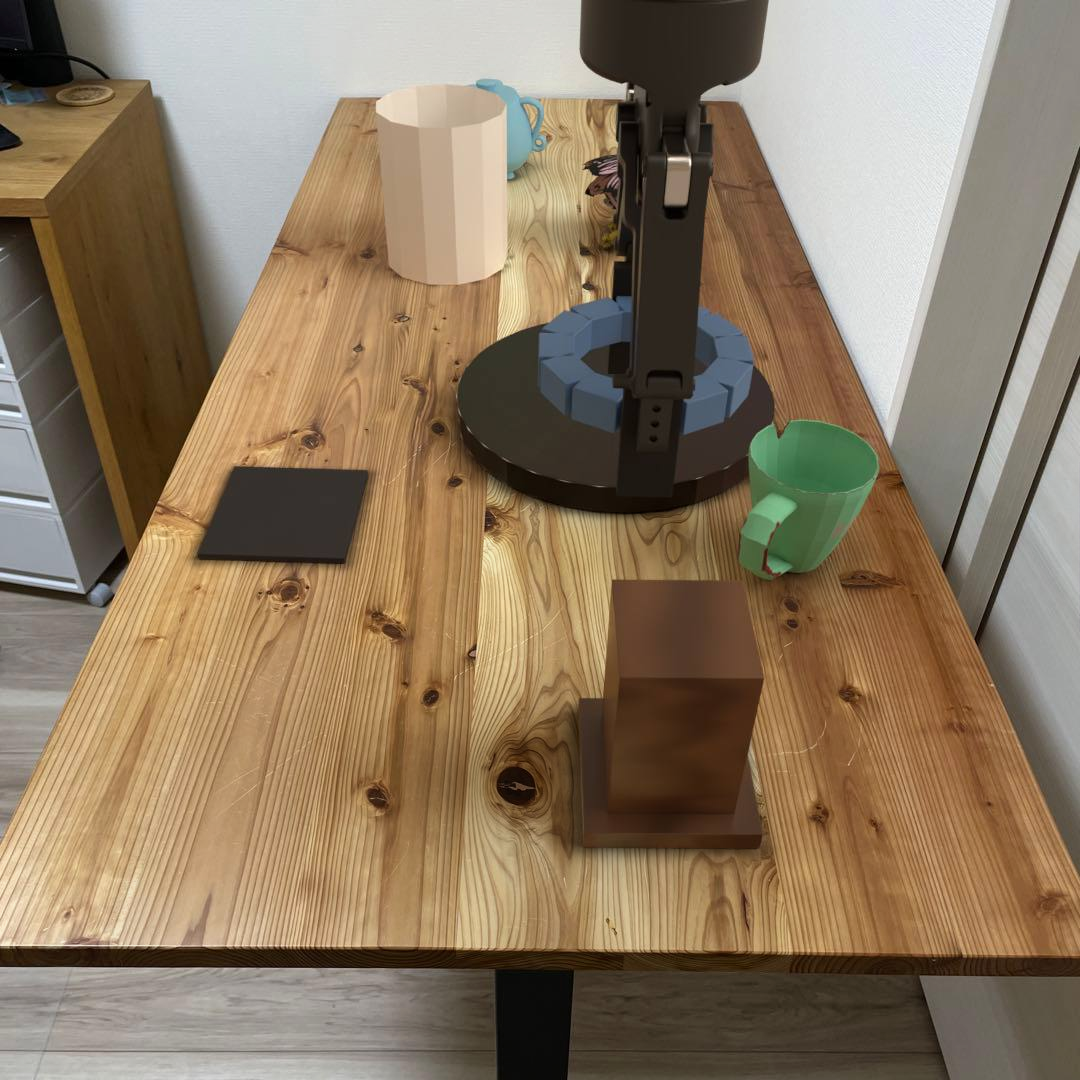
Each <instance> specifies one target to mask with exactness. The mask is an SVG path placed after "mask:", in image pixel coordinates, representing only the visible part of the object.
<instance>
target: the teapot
mask: <svg viewBox="0 0 1080 1080" xmlns="http://www.w3.org/2000/svg"><path fill="white" fill-rule="evenodd" d="M466 86H470V87H476V88H480V89H483V90H486V91H489V92H492V93H495V94H497V95H498V96H499V97H500V98H501V99H502V100H503V101H504V102H505V103H506V104H507V180H511V179H514V178H515V174H514V171H516V170H518V169H520V168H521V167H523V165H524V164H525V163H526V162H527V160H528V159H529V157H530V155H531V154H532V152H535V153H538V152H539V153H541V152H542V151H544V150H545V149H546V148H547V144H548V141H547V139H546V137H545V136H544V135H543V134H540V131H541V128H542V125H543V121H544V117H545V108H544V106H543V104H542V103H541V102H540V101H539V100H538V99H537V98H535V97H532V96H522V97H520V95H519V93H518V91H517V90H516V89H515V88H514V87H512V86H510V85H505V84H504V83H503V81H502V80H501V79H500V80H499V79H494V78H479V79H478V80H476V81H475V83H473V84H468V85H466ZM525 105H530V106H533V107H534V108H536V111H537V117H536V121H535V125H534V128H532V123H531V121H530V117H529V115H528V112H527V109H526V107H525ZM537 141H540V143H541V144H537Z"/></svg>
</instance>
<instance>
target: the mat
mask: <svg viewBox="0 0 1080 1080" xmlns="http://www.w3.org/2000/svg"><path fill="white" fill-rule="evenodd" d="M368 477H369V471H368V470H367V469H345V468H342V469H341V468H309V467H307V468H306V467H280V466H279V467H277V466H276V467H275V466H273V467H272V466H243V465H234V466H233V468H232V470H231V473H230V475H229V478H228V480H227V482H226V485H225V487H224V488H223V489H224V490H223V492H222V494H221V496H220V498H219V501H218V504H217V506H216V508H215V511H214V513H213V516H212V517H211V520H210V523H209V525H208V526H207V529H206V532H205V534H204V536H203V538H202V541H201V543H200V546H199V548H198V551H197V553H196V555H197V559H198V560H220V561H221V560H224V561H255V562H286V563H287V562H288V563H289V562H290V563H317V564H318V563H319V564H345V563H346V561H347V557H348V553H349V549H350V546H351V542H352V539H353V534H354V531H355V527H356V523H357V519H358V515H359V511H360V508H361V504H362V501H363V500H362V499H363V496H364V493H365V489H366V484H367V481H368Z"/></svg>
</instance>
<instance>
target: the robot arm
mask: <svg viewBox="0 0 1080 1080" xmlns="http://www.w3.org/2000/svg"><path fill="white" fill-rule="evenodd" d="M769 1H770V0H580V18H579V19H580V20H579V21H580V22H579V55H580V58H581V60H582V62H583V64H584V65H585V66H586V68H588V69H589V71H591V72H592V73H594V74H595V75H597V76H599V77H601V78H603V79H604V80H605V79H606V80H608V81H610V82H614V83H617V84H620V85H623V84H626V89H625V101H616V108H615V109H616V110H615V141H616V143H617V149H616V154H617V176H618V178H619V182H618V193H617V204H616V209H615V212H614V213H613V214H612V222H613V224H615V230H616V231H618V232H617V236H616V237H615V239H613V251H615V254H616V257H624V259H623V260H614V261H613V271H612V273H613V274H612V288H611V289H612V290H611V299H612V300H613V301H614V302H616V297H617V296H632V300H631V334H630V342H618V343H614V344H611V345H609V351H608V374H614V375H612V386H613V388H615V389H623V398H622V412H621V425H620V439H619V452H618V466H617V479H616V496H617V497H672V495H673V486H674V478H675V469H676V461H677V452H678V444H679V435H680V427H681V418H682V410H683V402H684V399H691V398H692V397H693V391H695V379H694V365H695V351H696V337H697V323H698V308H699V306H700V291H701V280H702V279H701V278H702V265H703V250H704V237H705V223H706V212H707V204H708V195H709V189H710V180H711V177H713V175H714V162H713V161H712V158H713V154H714V139H715V138H714V137H715V128H714V126H715V125H714V123H713V122H707V119H708V104H707V102H701V100H702V96H703V95H704V94H705V93H707V92H709V90H711V89H713V88H716V87H719V86H725V87H726V86H727V87H728V86H730V85H733V84H736V83H739V82H741V81H743V80H745V79H746V78H748V77H750V76H751V75H752V74H753V73H754V72H755V71H756V69H757V68H758V67H759V64H760V62H761V59H762V55H763V54H762V52H763V46H764V39H765V31H766V23H767V16H768V10H769V3H770V2H769ZM616 374H624V375H616Z"/></svg>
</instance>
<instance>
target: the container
mask: <svg viewBox="0 0 1080 1080" xmlns="http://www.w3.org/2000/svg"><path fill="white" fill-rule="evenodd" d="M375 116H376V118H375V119H376V130H377V140H378V141H377V144H378V155H379V167H380V177H381V189H382V190H381V191H382V203H383V210H384V211H383V215H384V224H385V236H386V248H387V250H386V251H387V260H388V261H387V262H388V267H389V268H390V269H392V270H393V271H394V272H395V273H396V274H398V276H400V277H401V278H403V279H406V280H410V281H414V282H417V283H421V284H424V285H428V286H429V285H433V286H438V285H439V286H440V285H441V286H459V285H465V284H470V283H474V282H477V281H478V282H479V281H484V280H486V279H488V278H490V277H492V276H493V275H494V274H496V273H498V272H500V271H501V270H503V269H504V267H505V264H506V262H507V258H508V253H509V252H508V251H509V250H508V247H509V246H508V179H507V104H506V103H505V102H504V101H503V100H502V99H501V98H500V97H499V96H498V95H497V94H495V93H492V92H489V91H486V90H483V89H480V88H476V87H470V86H467V85H458V84H448V83H447V84H446V83H443V84H442V83H439V84H425V85H414V86H410V87H405V88H402V89H397V90H393V91H390V92H388V93H387V94H385V95H384V96H382V97H381V98H379V99H378V100H376V101H375Z"/></svg>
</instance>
